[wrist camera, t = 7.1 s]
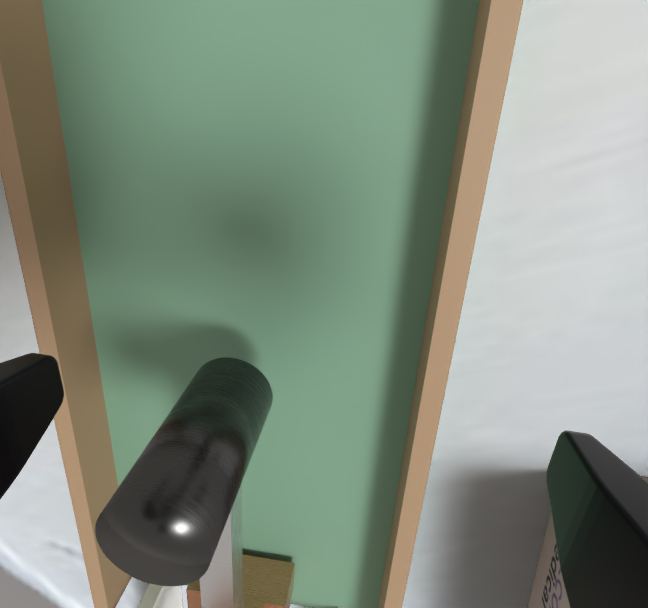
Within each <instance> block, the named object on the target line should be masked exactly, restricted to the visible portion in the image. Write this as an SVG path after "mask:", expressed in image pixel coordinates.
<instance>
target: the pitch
mask: <svg viewBox="0 0 648 608" xmlns="http://www.w3.org/2000/svg"><path fill="white" fill-rule="evenodd" d="M522 5H523V0H0V170H1V175H2V180H3V184H4V189H5V194H6V198H7V203H8V208H9V212H10V217H11V221H12V226H13V231H14V235H15V240H16V245H17V249H18V254H19V259H20V263H21V268H22V273H23V277H24V282H25V287H26V291H27V296H28V301H29V305H30V310H31V314H32V319H33V324H34V328H35V333H36V338H37V342H38V347H39V352H40V354H44V355H51V356H53V357H54V358H55V359H56V360H57V362H58V366H59V371H60V375H61V380H62V384H63V389H64V398H63V402H62V404H61V406H60V408H59V410H58V411H57V413H56V415H55V416H54V421H55V426H56V431H57V435H58V440H59V445H60V449H61V454H62V459H63V463H64V468H65V473H66V477H67V482H68V487H69V491H70V496H71V500H72V505H73V510H74V514H75V519H76V524H77V528H78V533H79V538H80V542H81V547H82V552H83V556H84V561H85V566H86V570H87V575H88V580H89V584H90V589H91V593H92V598H93V603H94V607H95V608H115V607H116V605H117V603H118V601H119V600H120V598H121V596H122V594H123V592H124V590H125V588H126V586H127V585H128V583H129V581H130V579H131V577H132V576H130V575H128V574H127V573H125V572H123V571H122V570H121V569H119V568H118V567H117V566H115V565H114V564H113V563H112V562H111V561H110V560H109V559H108V558H107V557H106V555H105V554H104V553H103V551H102V550H101V548H100V546H99V544H98V542H97V539H96V534H95V525H96V521H97V519H98V517H99V515H100V514H101V512H102V511H103V509H104V508H105V506H106V505H107V503H108V502H109V500H110V499H111V497H112V496H113V494H114V493H115V492H116V490H117V489H118V487H119V486H120V484H121V483H122V481H123V480H124V478H125V477H126V475H127V474H128V473H129V471H130V470H131V468H132V467H133V465H134V464H135V462H136V461H137V459H138V458H139V456H140V455H141V454H142V452H143V451H144V449H145V448H146V446H147V445H148V443H149V442H150V440H151V439H152V437H153V436H154V434H155V433H156V432H157V430H158V429H159V427H160V426H161V424H162V423H163V421H164V420H165V418H166V417H167V415H168V414H169V413H170V411H171V410H172V408H173V407H174V405H175V404H176V402H177V401H178V399H179V398H180V396H181V395H182V393H183V392H184V391H185V389H186V388H187V386H188V385H189V383H190V382H191V380H192V379H193V377H194V376H195V374H196V373H197V372H198V370H199V369H200V368H201V367H202V366H203V365H204V364H205V363H207V362H209V361H211V360H213V359H217V358H225V357H228V358H236V359H240V360H243V361H245V362H248V363H250V364H251V365H253V366H254V367H256V368H257V369H258V370H260V371H261V372H262V373H263V375H264V376H265V377H266V379H267V380H268V382H269V384H270V386H271V389H272V393H273V401H272V406H271V409H270V411H269V414H268V416H267V419H266V421H265V424H264V427H263V429H262V432H261V434H260V437H259V439H258V442H257V445H256V447H255V450H254V452H253V455H252V457H251V460H250V463H249V465H248V468H247V470H246V473H245V476H244V478H243V481H242V549H243V555H249V556H255V557H261V558H267V559H273V560H279V561H285V562H291V563H295V570H294V588H293V593H292V598H291V603H290V604H295V605H301V606H307V607H312V608H338V606H339V607H345V608H402V604H403V599H404V594H405V589H406V584H407V579H408V574H409V569H410V564H411V559H412V554H413V549H414V544H415V539H416V534H417V529H418V524H419V519H420V514H421V509H422V504H423V499H424V494H425V489H426V484H427V479H428V474H429V469H430V464H431V459H432V454H433V449H434V444H435V439H436V434H437V429H438V424H439V419H440V414H441V409H442V404H443V399H444V394H445V389H446V384H447V379H448V374H449V369H450V364H451V359H452V354H453V349H454V344H455V339H456V334H457V329H458V324H459V319H460V314H461V309H462V304H463V299H464V294H465V289H466V284H467V279H468V274H469V269H470V264H471V259H472V254H473V249H474V244H475V239H476V234H477V229H478V224H479V219H480V214H481V209H482V204H483V199H484V194H485V189H486V184H487V179H488V174H489V169H490V164H491V159H492V154H493V149H494V144H495V139H496V134H497V129H498V124H499V119H500V114H501V109H502V104H503V99H504V95H505V90H506V85H507V80H508V75H509V70H510V65H511V60H512V55H513V50H514V45H515V40H516V35H517V30H518V25H519V20H520V15H521V10H522ZM186 585H189V584H186Z"/></svg>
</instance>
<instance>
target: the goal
mask: <svg viewBox="0 0 648 608" xmlns="http://www.w3.org/2000/svg"><path fill="white" fill-rule="evenodd" d="M138 608H183V604H182V593H181V586H160V585H155V584H149V586H148V588H147V590H146V592H145V594H144V596H143V598H142V600H141V602H140V604H139V606H138ZM338 608H345V607H339V606H338Z"/></svg>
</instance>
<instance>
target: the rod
mask: <svg viewBox="0 0 648 608" xmlns="http://www.w3.org/2000/svg"><path fill="white" fill-rule="evenodd" d="M272 401H273V393H272V389H271V386H270V384H269V382H268V380H267V379H266V377H265V376H264V375H263V373H262V372H261V371H260V370H258V369H257V368H256V367H254V366H253V365H251V364H250V363H248V362H245V361H243V360H240V359H236V358H228V357H225V358H217V359H213V360H211V361H209V362H207V363H205V364H204V365H203V366H202V367H201V368H200V369H199V370H198V372H197V373H196V374H195V376H194V377H193V379H192V380H191V382H190V383H189V385H188V386H187V388H186V389H185V391H184V392H183V393H182V395H181V396H180V398H179V399H178V401H177V402H176V404H175V405H174V407H173V408H172V410H171V411H170V413H169V414H168V415H167V417H166V418H165V420H164V421H163V423H162V424H161V426H160V427H159V429H158V430H157V432H156V433H155V434H154V436H153V437H152V439H151V440H150V442H149V443H148V445H147V446H146V448H145V449H144V451H143V452H142V454H141V455H140V456H139V458H138V459H137V461H136V462H135V464H134V465H133V467H132V468H131V470H130V471H129V473H128V474H127V475H126V477H125V478H124V480H123V481H122V483H121V484H120V486H119V487H118V489H117V490H116V492H115V493H114V494H113V496H112V497H111V499H110V500H109V502H108V503H107V505H106V506H105V508H104V509H103V511H102V512H101V514H100V515H99V517H98V519H97V521H96V525H95V534H96V539H97V542H98V544H99V546H100V548H101V550H102V551H103V553H104V554H105V555H106V557H107V558H108V559H109V560H110V561H111V562H112V563H113V564H114V565H115V566H117V567H118V568H119V569H121V570H122V571H123V572H125V573H127V574H128V575H130V576H132V577H134V578H136V579H139V580H141V581H144V582H147V583H150V584H155V585H160V586H181V585H186V584H189V585H188V587H187V589H186V590H187V601H188V608H289V607H290V603H291V598H292V593H293V588H294V570H295V563H291V562H285V561H279V560H273V559H267V558H261V557H255V556H249V555H243V549H242V481H243V478H244V476H245V473H246V470H247V468H248V465H249V463H250V460H251V457H252V455H253V452H254V450H255V447H256V445H257V442H258V439H259V437H260V434H261V432H262V429H263V427H264V424H265V421H266V419H267V416H268V414H269V411H270V409H271V406H272Z"/></svg>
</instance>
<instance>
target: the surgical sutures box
mask: <svg viewBox="0 0 648 608" xmlns="http://www.w3.org/2000/svg"><path fill="white" fill-rule="evenodd" d="M641 477H642V478H643V479H645V480H646V481H647V482H648V477H644V476H641ZM528 608H570V605H569V601H568V597H567V594H566V590H565V586H564V582H563V578H562V574H561V569H560V563H559V558H558V552H557V545H556V538H555V532H554V525H553V518H552V511H551V512H550V516H549V520H548V525H547V529H546V533H545V537H544V541H543V545H542V549H541V554H540V558H539V562H538V566H537V570H536V574H535V579H534V583H533V587H532V591H531V595H530V599H529V603H528Z"/></svg>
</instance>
